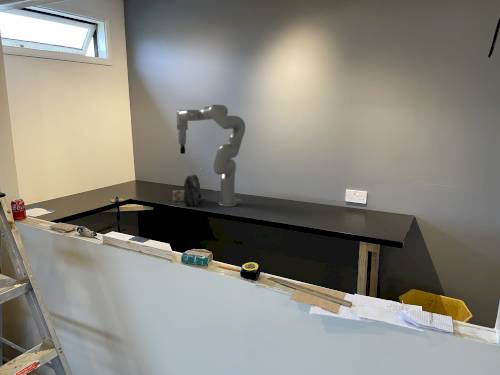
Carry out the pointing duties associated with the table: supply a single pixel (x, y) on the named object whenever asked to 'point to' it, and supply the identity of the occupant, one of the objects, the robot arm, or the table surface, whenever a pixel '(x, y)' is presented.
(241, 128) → the robot arm
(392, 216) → the table surface
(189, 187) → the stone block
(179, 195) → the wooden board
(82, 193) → the table surface
